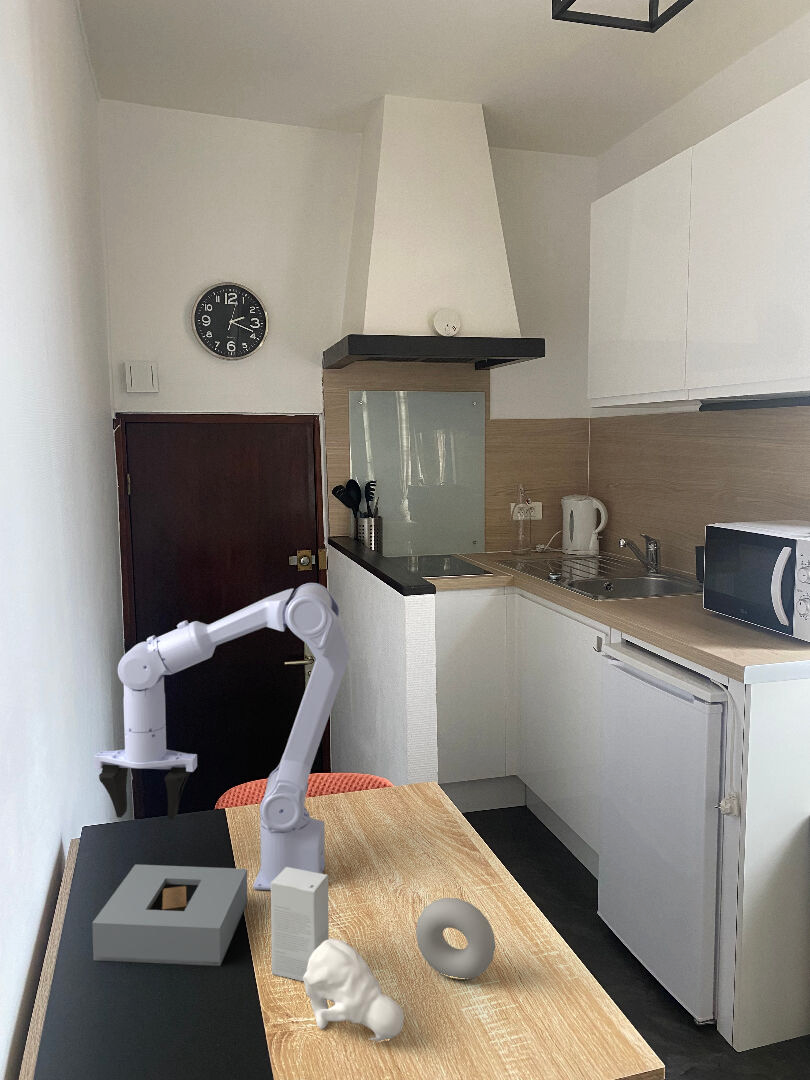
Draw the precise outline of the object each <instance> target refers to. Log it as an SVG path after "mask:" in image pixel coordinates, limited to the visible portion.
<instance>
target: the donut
mask: <svg viewBox="0 0 810 1080" xmlns="http://www.w3.org/2000/svg"><path fill="white" fill-rule="evenodd" d="M447 928H448V929H449V928H451V929H455V930H456V931H459V932H460V933H461V934H462V935H463V936H464V937H465V940H466V942H467V946H466V947H465V948H456V947H454V946H452V945H451V944H450V943H448V941H447V940H446V938H445V936H444V931H445V930H446V929H447ZM415 934H416V935H415V937H416V943H417V947H418V949H419V950H420V952H421V956H422V958H423V959H424V961H426V963H427V964H428V965H429V966H430V967H431V968H432V969H433V970H435V971H436V972H437V971H438V974H440V973H442V974H445V975H448V976H453V977H458V978H465V979H467V978H471V979H474V978H477V977H478V976H480V975H482V974H483V973H485V972H486V971H487V969H489V967H490V965H491V963H492V962H493V960H494V955H495V951H496V939H495V933H494V930H493V928H492V926H491V923H490V921H489V919H488V918H487V917H486V916H485V915H484V914H483V912H482V911H481V910H480V908H478V907H476V906H474V905H473V904H472V903H471V902H469V901H466V900H464V899H462V898H457V897H456V898H455V897H444V898H443V897H442V898H440V899H435V900H433V901H432V902H431V903H429V904H428V905H427V906H425V907H424V908H423V910H422V911H421V913H420V915H419V917H418V919H417V922H416V928H415ZM442 974H441V975H442ZM467 980H468V979H467Z"/></svg>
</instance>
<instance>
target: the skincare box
mask: <svg viewBox="0 0 810 1080" xmlns="http://www.w3.org/2000/svg"><path fill="white" fill-rule="evenodd" d="M329 916H330V915H329V874H324V873H323V874H321V873H315V872H310V871H305V870H300V869H295V868H290V867H286V868H285V869H284V870H283V871H282V872H281V873H280V874H279V875H278V876H277V877H276V878H275V879H274V880H273V881H272V882H271V890H270V918H271V920H270V923H271V924H270V926H271V931H270V932H271V934H270V935H271V938H270V939H271V942H270V943H271V945H270V946H271V974H272V975H273V974H274V976H279V977H282V976H283V977H282V978H286V977H287V978H286V979H290V978H291V980H294V979H295V981H298V982H299V981H300V982H303V976H304V975H305V973H306V972H307V966H308V961H309V958H310V956H311V955H312V953H313V952H314V950H315V949H316V948H317V947H318V946H320V945H321V944H322V943H323V942H324V941H325V940H328V939H330V938H329V937H330V935H329V934H330V932H329V929H330V928H329V922H330V921H329Z"/></svg>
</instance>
